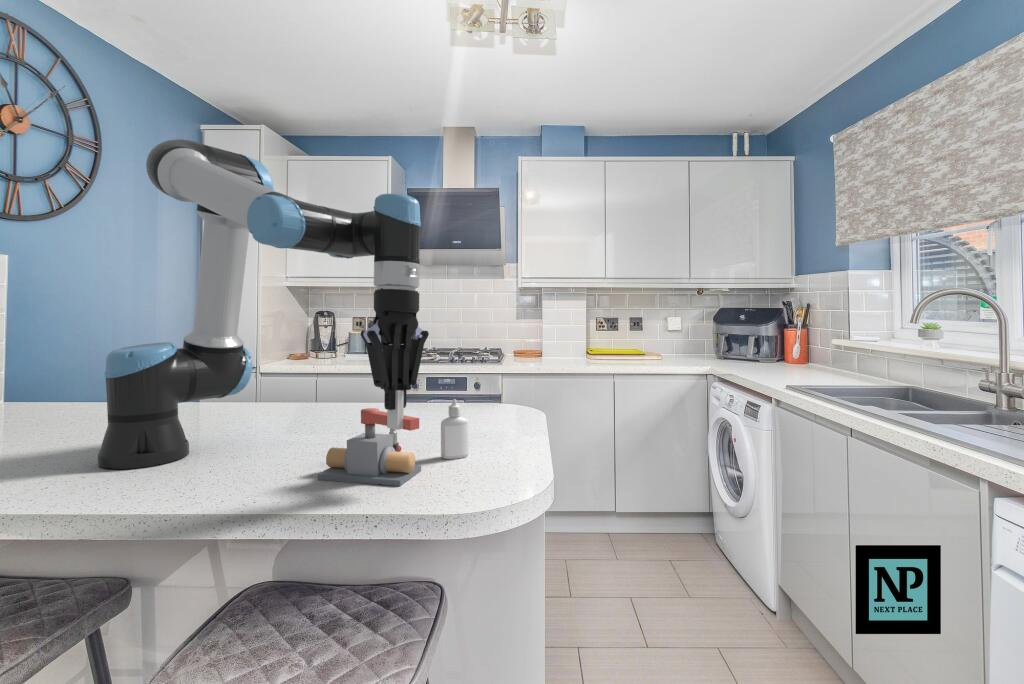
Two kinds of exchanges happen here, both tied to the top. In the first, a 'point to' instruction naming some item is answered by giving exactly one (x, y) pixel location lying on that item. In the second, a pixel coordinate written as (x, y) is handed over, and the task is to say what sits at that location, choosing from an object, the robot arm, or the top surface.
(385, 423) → the lever
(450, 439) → the eye dropper bottle
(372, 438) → the valve base
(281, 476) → the top surface
